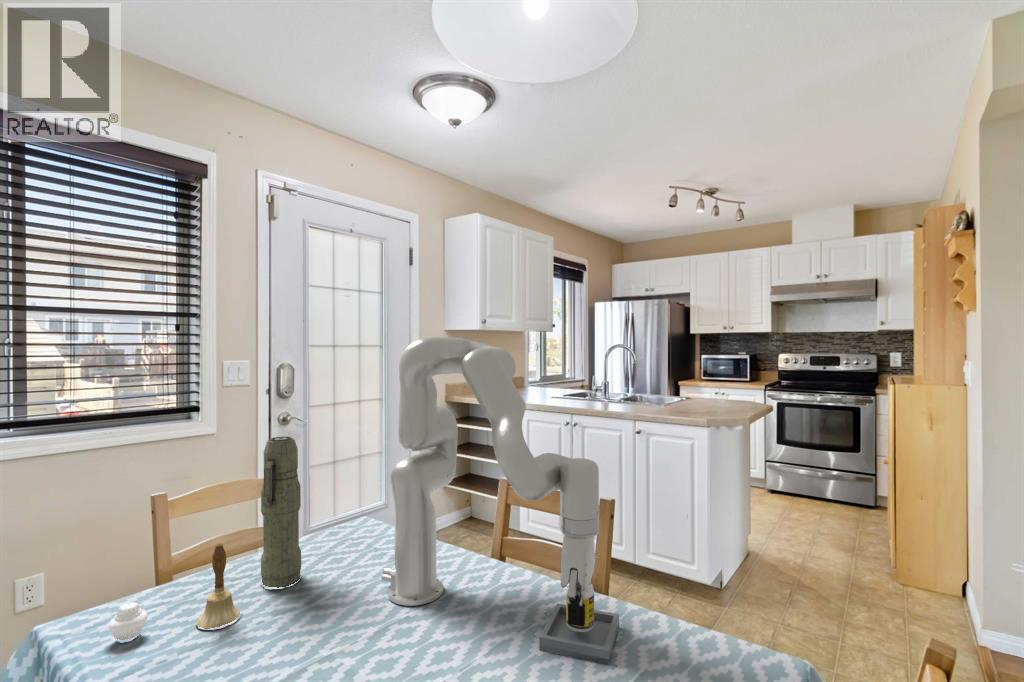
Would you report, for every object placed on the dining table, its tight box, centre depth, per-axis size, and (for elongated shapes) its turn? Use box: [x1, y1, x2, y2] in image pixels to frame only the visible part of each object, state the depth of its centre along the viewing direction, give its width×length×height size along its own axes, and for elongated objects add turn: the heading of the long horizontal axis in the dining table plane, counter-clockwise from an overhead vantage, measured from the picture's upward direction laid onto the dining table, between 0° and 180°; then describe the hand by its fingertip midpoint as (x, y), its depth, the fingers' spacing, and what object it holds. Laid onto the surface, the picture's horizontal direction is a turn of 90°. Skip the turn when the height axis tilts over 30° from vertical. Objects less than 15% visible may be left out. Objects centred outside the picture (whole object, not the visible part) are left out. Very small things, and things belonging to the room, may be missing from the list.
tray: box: [538, 603, 620, 666], centre depth 99 cm, size 13×13×2 cm
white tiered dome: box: [108, 602, 149, 641], centre depth 100 cm, size 6×6×7 cm
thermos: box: [260, 436, 302, 588], centre depth 124 cm, size 9×12×35 cm
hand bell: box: [196, 543, 241, 629], centre depth 106 cm, size 8×8×16 cm
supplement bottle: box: [565, 578, 595, 632], centre depth 99 cm, size 5×5×10 cm
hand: (580, 615), depth 99 cm, fingers closed on supplement bottle, 5 cm apart
